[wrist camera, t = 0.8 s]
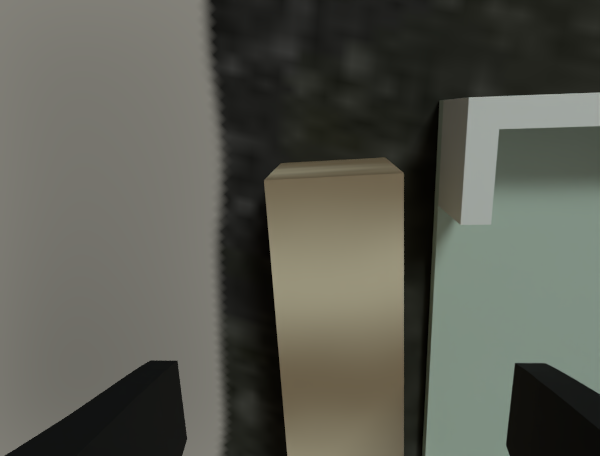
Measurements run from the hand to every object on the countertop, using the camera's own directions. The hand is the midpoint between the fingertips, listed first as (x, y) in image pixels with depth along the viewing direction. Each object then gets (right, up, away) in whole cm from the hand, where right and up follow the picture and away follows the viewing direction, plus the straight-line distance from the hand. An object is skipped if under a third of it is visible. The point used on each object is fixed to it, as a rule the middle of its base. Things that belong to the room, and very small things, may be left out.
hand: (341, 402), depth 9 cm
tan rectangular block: (+1, 0, +7) cm, 7 cm away
